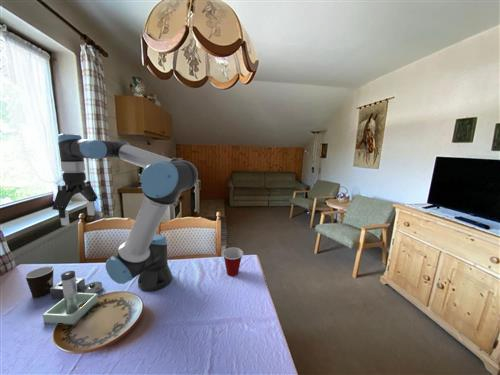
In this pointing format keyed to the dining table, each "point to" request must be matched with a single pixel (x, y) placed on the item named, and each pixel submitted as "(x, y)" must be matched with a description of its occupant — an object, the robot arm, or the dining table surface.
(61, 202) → the robot arm
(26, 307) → the dining table surface
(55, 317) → the tray
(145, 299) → the dining table surface
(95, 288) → the pulley wheel
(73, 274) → the clear bottle
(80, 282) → the block
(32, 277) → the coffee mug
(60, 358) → the dining table surface
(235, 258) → the plastic cup
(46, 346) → the dining table surface
